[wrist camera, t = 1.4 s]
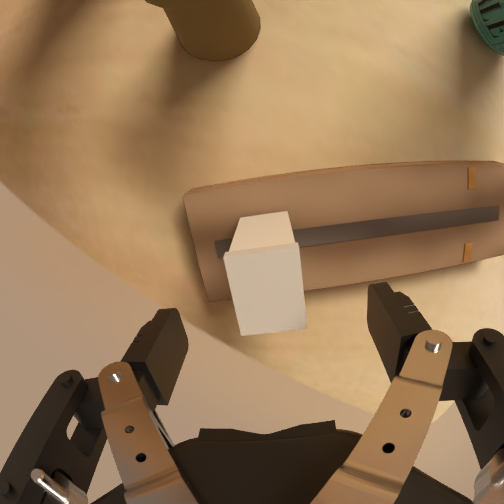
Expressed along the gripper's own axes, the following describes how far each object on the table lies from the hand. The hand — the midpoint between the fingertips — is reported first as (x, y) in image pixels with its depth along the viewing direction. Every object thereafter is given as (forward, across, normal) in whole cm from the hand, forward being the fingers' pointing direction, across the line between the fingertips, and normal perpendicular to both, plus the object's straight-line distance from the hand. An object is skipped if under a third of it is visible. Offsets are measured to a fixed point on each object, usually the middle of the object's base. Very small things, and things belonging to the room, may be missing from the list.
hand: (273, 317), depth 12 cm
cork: (+11, +1, -16) cm, 20 cm away
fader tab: (+8, 0, 0) cm, 8 cm away
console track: (+11, -8, 0) cm, 13 cm away
